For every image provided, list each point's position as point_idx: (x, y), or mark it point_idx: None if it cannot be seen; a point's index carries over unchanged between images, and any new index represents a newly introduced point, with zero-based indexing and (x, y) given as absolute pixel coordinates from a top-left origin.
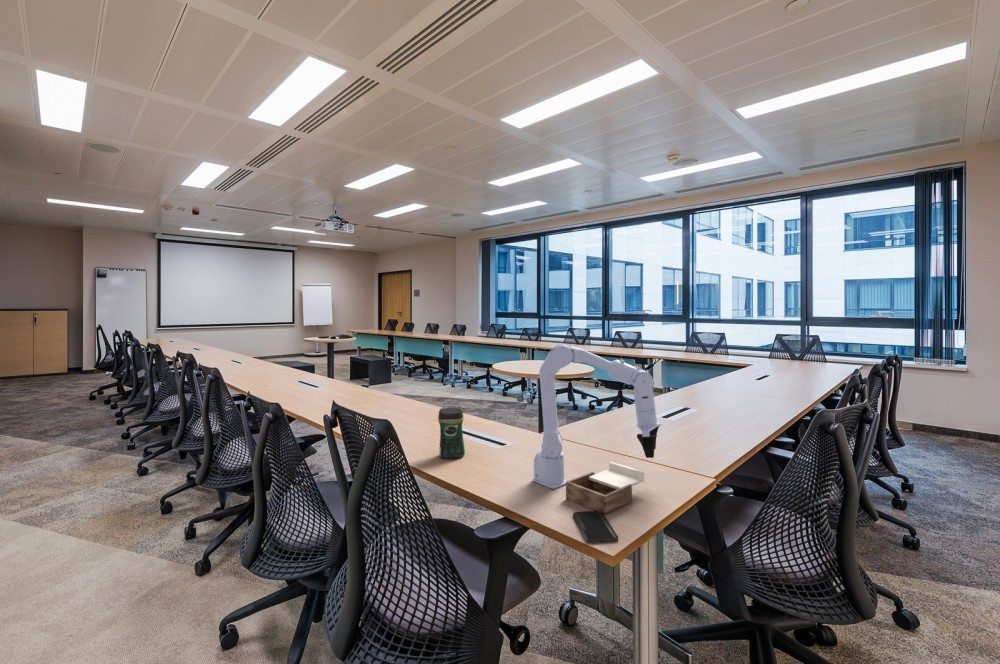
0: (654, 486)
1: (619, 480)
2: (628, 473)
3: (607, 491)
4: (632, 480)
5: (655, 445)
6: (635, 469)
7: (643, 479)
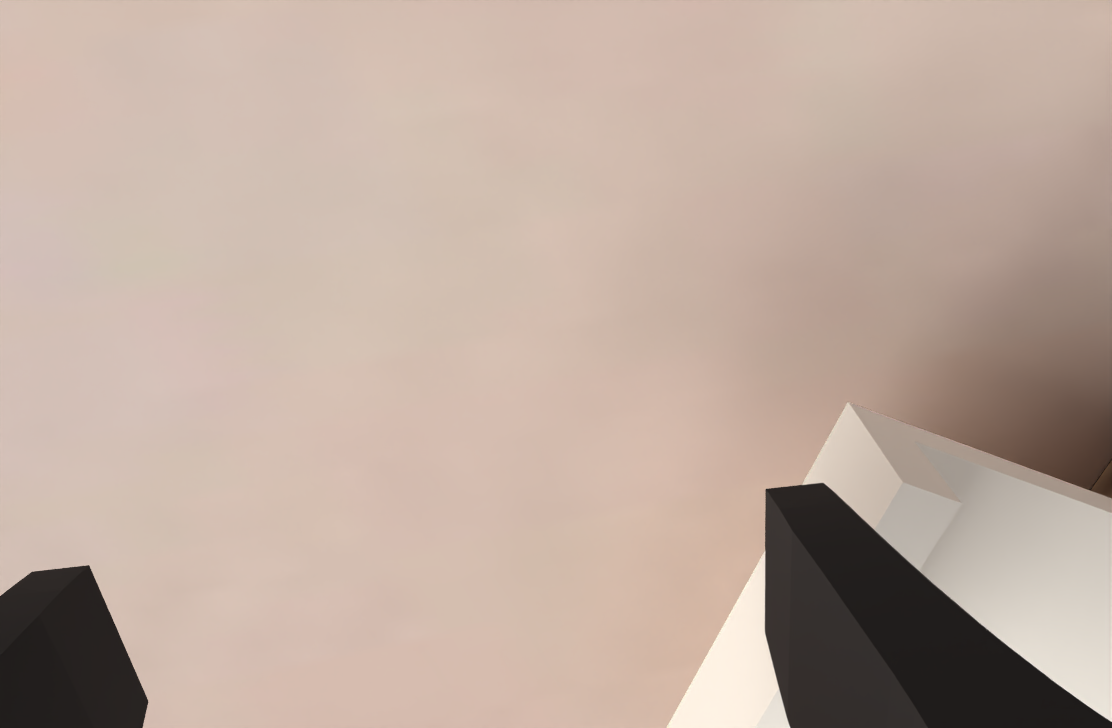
0: (477, 248)
1: None
2: None
3: None
4: (1020, 559)
5: (24, 637)
6: None
7: (878, 424)
